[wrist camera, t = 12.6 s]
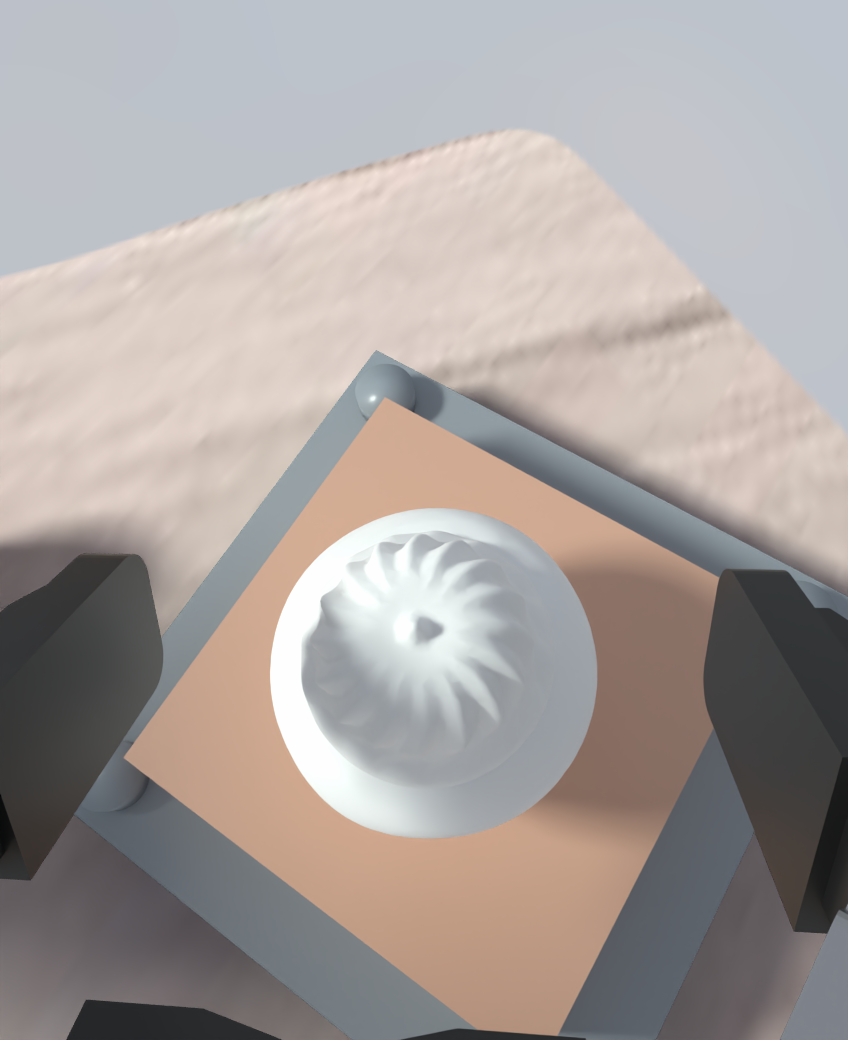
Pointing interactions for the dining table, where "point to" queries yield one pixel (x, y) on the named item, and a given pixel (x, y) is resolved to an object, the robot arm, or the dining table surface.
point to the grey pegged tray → (472, 858)
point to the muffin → (433, 674)
